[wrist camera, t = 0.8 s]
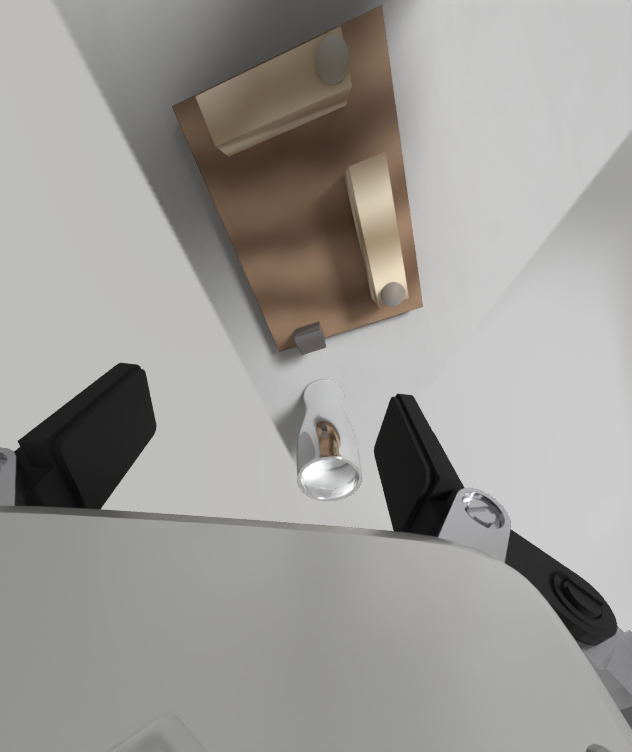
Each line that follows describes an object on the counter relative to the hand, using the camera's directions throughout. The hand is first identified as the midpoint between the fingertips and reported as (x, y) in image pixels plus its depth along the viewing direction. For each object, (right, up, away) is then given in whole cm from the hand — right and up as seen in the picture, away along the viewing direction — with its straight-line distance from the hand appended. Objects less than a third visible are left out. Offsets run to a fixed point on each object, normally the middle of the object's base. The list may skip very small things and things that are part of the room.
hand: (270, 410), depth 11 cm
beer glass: (+3, -2, +30) cm, 30 cm away
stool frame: (+2, +18, +19) cm, 26 cm away
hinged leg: (+8, +16, +17) cm, 24 cm away
